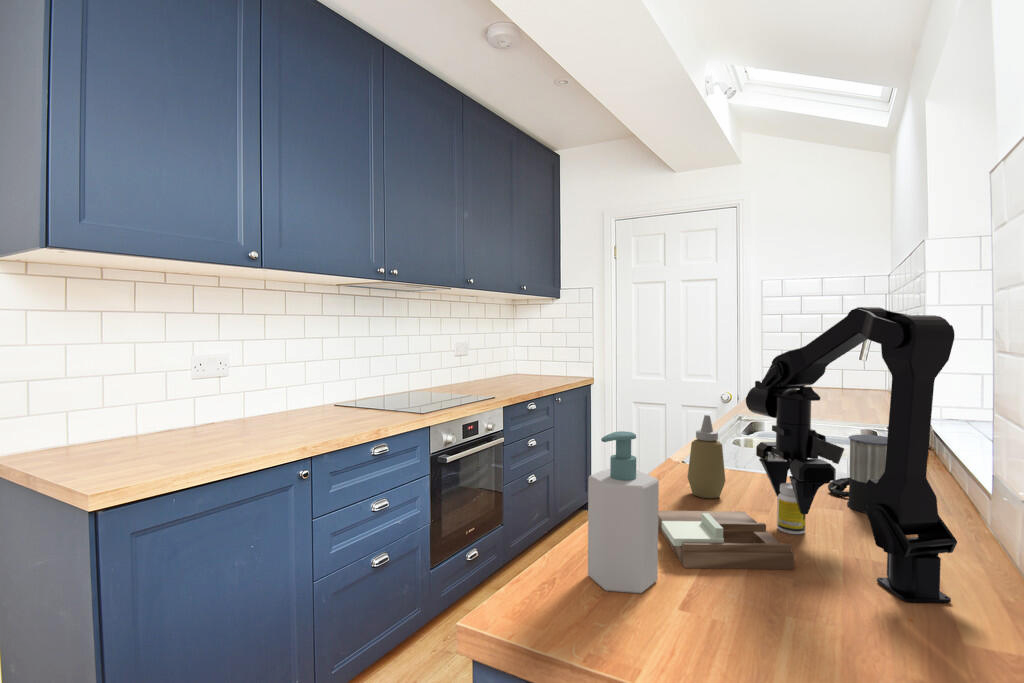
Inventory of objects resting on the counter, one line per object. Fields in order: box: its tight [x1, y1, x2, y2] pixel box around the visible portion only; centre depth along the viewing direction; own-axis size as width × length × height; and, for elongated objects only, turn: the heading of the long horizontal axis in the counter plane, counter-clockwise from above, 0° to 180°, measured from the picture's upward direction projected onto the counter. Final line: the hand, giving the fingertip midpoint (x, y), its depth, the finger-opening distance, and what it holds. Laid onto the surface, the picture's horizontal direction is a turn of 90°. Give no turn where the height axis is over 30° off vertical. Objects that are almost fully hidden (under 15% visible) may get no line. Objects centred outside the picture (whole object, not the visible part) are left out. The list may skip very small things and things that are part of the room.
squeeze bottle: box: [687, 414, 726, 499], centre depth 126 cm, size 8×8×18 cm
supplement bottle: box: [776, 482, 806, 535], centre depth 105 cm, size 5×5×8 cm
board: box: [658, 510, 795, 570], centre depth 98 cm, size 20×17×3 cm
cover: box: [662, 513, 724, 546], centre depth 94 cm, size 8×8×3 cm
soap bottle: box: [587, 430, 660, 594], centre depth 84 cm, size 10×9×22 cm
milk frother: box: [827, 434, 888, 514], centre depth 121 cm, size 14×16×15 cm
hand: (791, 505), depth 104 cm, fingers open, 9 cm apart
